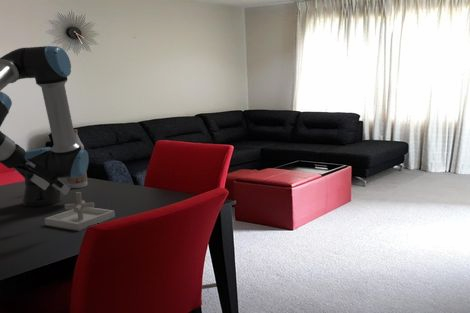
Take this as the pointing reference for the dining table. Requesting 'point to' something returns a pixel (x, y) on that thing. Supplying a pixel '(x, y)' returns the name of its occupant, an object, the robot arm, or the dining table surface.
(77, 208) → the pipe connector
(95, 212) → the tray
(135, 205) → the dining table surface
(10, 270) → the dining table surface
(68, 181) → the fruit juice
